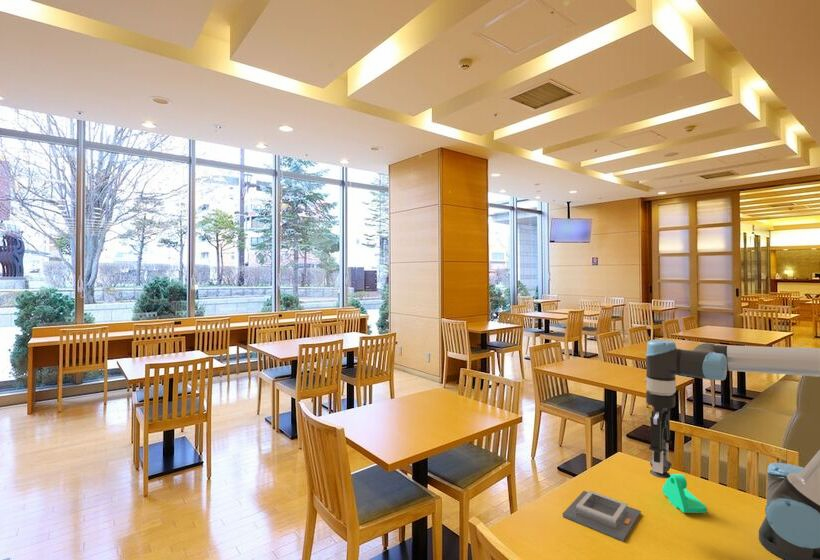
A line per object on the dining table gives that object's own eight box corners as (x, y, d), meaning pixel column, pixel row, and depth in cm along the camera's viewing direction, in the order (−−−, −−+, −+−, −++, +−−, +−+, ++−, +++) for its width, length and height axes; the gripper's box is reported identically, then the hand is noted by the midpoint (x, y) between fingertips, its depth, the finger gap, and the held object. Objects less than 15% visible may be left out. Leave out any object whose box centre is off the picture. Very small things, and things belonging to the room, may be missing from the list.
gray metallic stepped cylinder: (671, 480, 121) (671, 440, 121) (648, 475, 124) (648, 436, 124) (671, 472, 126) (671, 433, 126) (649, 467, 129) (649, 429, 129)
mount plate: (640, 514, 133) (640, 503, 133) (623, 541, 120) (623, 529, 120) (583, 493, 145) (583, 483, 145) (562, 516, 132) (562, 505, 132)
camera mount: (708, 516, 132) (708, 484, 131) (683, 516, 132) (683, 484, 132) (684, 495, 144) (685, 466, 143) (662, 495, 144) (662, 466, 144)
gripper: (654, 382, 134) (653, 453, 135) (638, 396, 120) (637, 475, 121) (681, 387, 129) (681, 460, 129) (668, 402, 115) (667, 484, 116)
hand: (660, 467), depth 125 cm, fingers closed on gray metallic stepped cylinder, 6 cm apart
